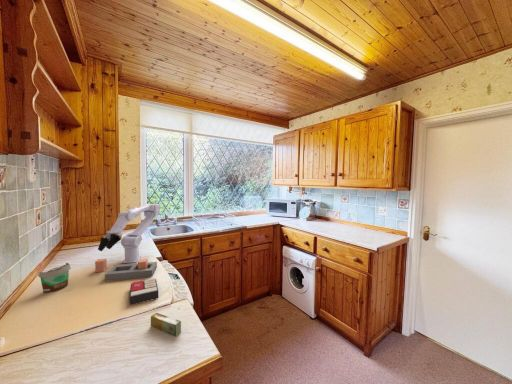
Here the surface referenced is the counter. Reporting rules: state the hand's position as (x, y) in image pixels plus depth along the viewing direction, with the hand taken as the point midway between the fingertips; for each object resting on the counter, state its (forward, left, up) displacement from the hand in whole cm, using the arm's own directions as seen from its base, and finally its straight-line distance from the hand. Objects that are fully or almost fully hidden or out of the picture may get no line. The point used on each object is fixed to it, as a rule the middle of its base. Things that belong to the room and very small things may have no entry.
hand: (103, 249), depth 115 cm
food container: (+11, -14, -14) cm, 23 cm away
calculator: (+25, +26, -15) cm, 39 cm away
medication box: (+52, +39, -15) cm, 67 cm away
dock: (+2, +15, -14) cm, 20 cm away
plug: (-7, -4, -14) cm, 16 cm away
